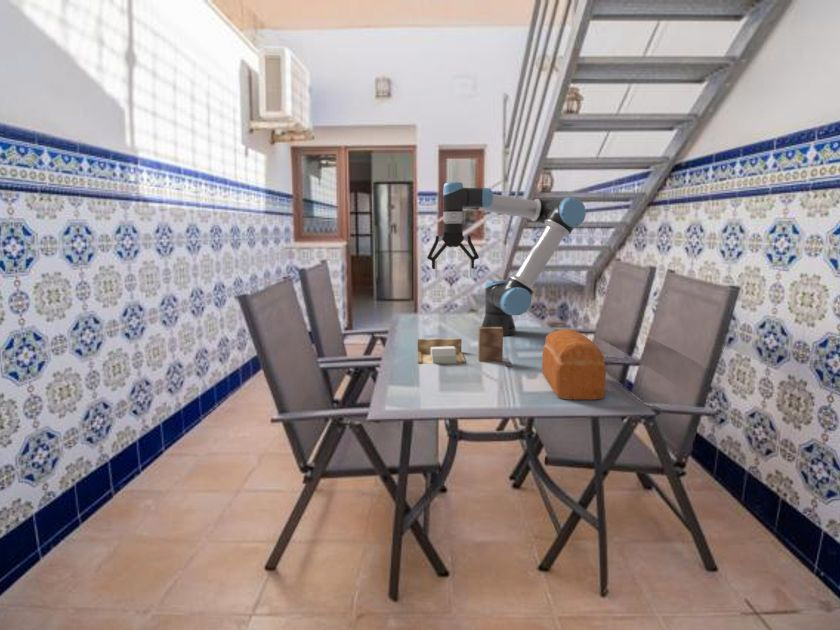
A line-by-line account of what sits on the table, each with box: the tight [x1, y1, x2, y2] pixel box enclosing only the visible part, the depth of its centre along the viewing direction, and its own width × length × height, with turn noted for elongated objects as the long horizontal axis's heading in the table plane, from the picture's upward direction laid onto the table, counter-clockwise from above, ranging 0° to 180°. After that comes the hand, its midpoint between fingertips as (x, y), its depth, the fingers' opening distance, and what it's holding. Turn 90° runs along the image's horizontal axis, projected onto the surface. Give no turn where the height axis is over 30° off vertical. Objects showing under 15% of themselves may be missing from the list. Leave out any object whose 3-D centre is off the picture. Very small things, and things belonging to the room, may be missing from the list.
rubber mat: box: [501, 357, 514, 367], centre depth 186 cm, size 14×10×1 cm
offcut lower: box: [433, 353, 457, 364], centre depth 183 cm, size 8×4×2 cm, turn 91°
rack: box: [417, 338, 466, 365], centre depth 189 cm, size 16×16×6 cm
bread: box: [541, 329, 607, 401], centre depth 158 cm, size 14×26×16 cm, turn 177°
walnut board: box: [477, 326, 504, 362], centre depth 185 cm, size 8×3×12 cm, turn 91°
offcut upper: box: [431, 346, 455, 356], centre depth 183 cm, size 8×4×2 cm, turn 97°
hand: (452, 277), depth 213 cm, fingers open, 13 cm apart
